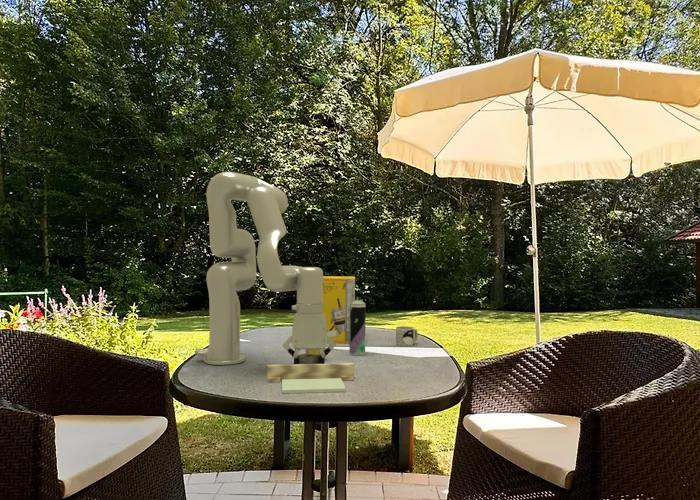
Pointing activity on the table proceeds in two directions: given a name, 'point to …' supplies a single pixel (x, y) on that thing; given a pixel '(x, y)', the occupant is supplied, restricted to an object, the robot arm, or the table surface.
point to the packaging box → (338, 306)
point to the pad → (313, 385)
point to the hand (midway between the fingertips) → (309, 370)
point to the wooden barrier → (310, 371)
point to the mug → (405, 336)
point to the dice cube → (308, 358)
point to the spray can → (357, 327)
